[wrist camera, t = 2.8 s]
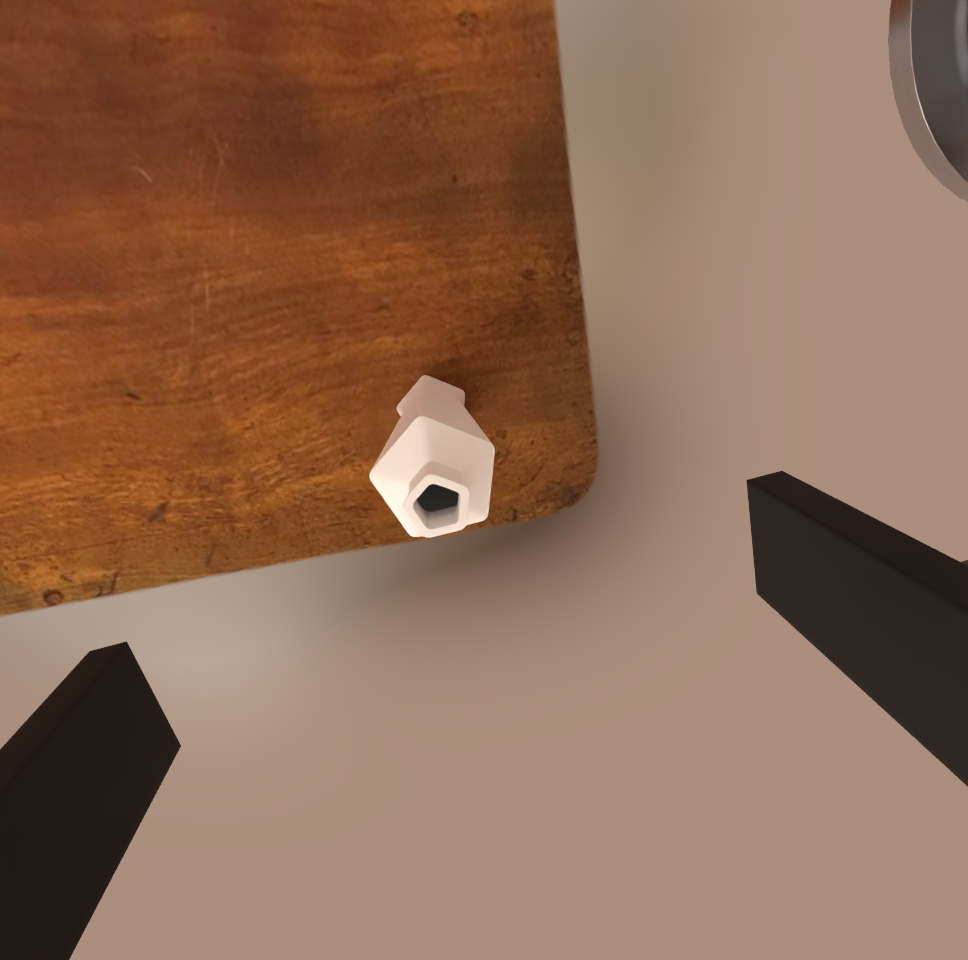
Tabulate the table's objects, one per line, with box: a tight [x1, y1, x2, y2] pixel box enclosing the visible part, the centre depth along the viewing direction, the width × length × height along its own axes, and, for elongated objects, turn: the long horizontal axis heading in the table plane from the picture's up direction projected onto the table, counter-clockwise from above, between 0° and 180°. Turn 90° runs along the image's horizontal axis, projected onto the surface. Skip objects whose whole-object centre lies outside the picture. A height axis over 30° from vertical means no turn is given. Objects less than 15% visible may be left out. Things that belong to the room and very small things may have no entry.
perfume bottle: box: [370, 375, 495, 538], centre depth 26 cm, size 5×4×15 cm
